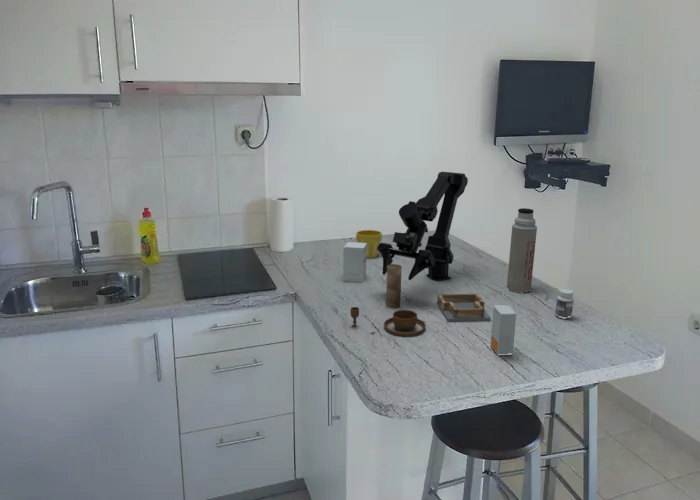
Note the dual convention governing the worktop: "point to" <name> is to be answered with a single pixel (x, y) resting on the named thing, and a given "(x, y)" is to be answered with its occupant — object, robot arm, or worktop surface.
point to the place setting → (397, 321)
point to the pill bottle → (564, 303)
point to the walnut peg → (393, 286)
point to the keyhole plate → (462, 307)
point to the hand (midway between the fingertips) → (396, 276)
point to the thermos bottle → (522, 251)
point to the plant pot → (370, 241)
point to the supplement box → (354, 261)
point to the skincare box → (503, 329)
